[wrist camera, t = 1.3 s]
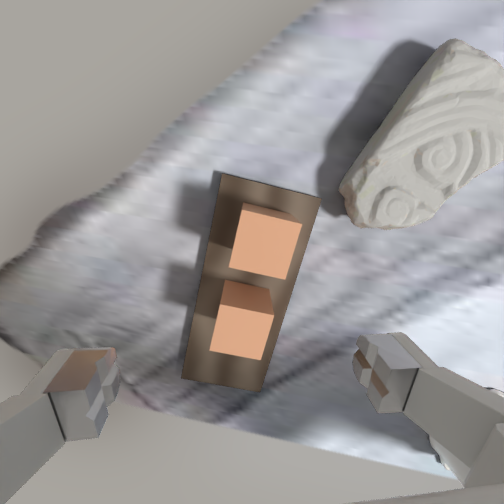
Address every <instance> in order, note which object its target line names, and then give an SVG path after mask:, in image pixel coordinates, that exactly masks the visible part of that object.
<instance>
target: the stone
mask: <svg viewBox="0 0 504 504" xmlns="http://www.w3.org/2000/svg"><path fill="white" fill-rule="evenodd" d="M503 160H504V69H503V67H502V66H501V64H500V63H499V62H498V61H497V60H495V59H493V58H491V57H490V56H488V55H487V54H486V53H485V52H484V51H481V50H478V49H475V48H474V47H472V46H470V45H468V44H467V43H465V42H464V41H462V40H458V39H450V40H448V41H446V42H445V43H443V44H442V45H440V46H439V47H438V48H437V49H436V51H435V52H434V53H433V54H432V55H431V57H430V58H429V59H428V60H427V62H426V63H425V64H424V65H423V66H422V68H421V69H420V70H419V71H418V73H417V74H416V75H415V76H414V78H413V79H412V80H411V82H410V83H409V85H408V86H407V87H406V89H405V90H404V92H403V93H402V94H401V96H400V97H399V99H398V100H397V102H396V103H395V105H394V106H393V108H392V109H391V111H390V112H389V113H388V115H387V116H386V118H385V119H384V120H383V122H382V124H381V126H380V127H379V129H378V130H377V131H376V132H375V133H374V134H373V136H372V137H371V138H370V140H369V141H368V143H367V144H366V145H365V147H364V148H363V150H362V151H361V153H360V154H359V156H358V157H357V159H356V160H355V161H354V163H353V164H352V166H351V167H350V169H349V170H348V171H347V173H346V174H345V176H344V178H343V180H342V181H341V183H340V186H339V192H340V193H341V194H342V195H343V197H344V199H345V209H346V211H347V214H348V216H349V217H350V219H351V222H352V223H353V224H354V225H355V226H357V227H360V228H380V229H383V230H391V229H398V228H406V227H411V226H415V225H418V224H420V223H423V222H425V221H428V220H429V219H431V218H432V217H433V216H434V214H435V213H436V212H437V210H438V209H439V208H440V206H441V205H442V204H443V203H444V202H445V201H446V200H447V199H448V198H449V197H450V196H452V195H453V194H455V193H456V192H457V191H458V190H459V189H460V188H462V187H463V186H465V185H466V184H467V183H469V182H470V180H471V179H472V178H475V177H477V176H478V175H480V174H481V173H483V172H485V171H487V170H489V169H490V168H492V167H493V166H496V165H498V164H499V163H500V162H501V161H503Z"/></svg>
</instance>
